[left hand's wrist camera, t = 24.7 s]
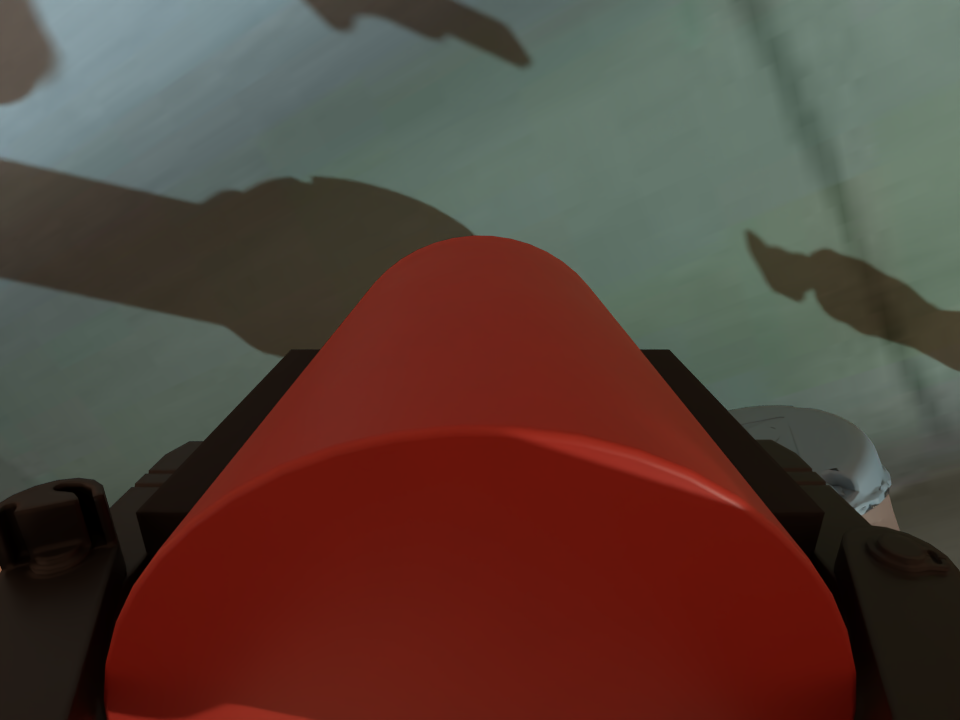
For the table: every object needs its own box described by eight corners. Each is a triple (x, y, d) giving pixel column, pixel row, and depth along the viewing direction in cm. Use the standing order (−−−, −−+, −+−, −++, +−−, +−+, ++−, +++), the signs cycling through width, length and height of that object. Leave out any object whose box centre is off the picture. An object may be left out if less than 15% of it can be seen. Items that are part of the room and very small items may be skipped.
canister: (289, 356, 16) (-57, 727, 6) (497, 171, 14) (544, 222, 4) (466, 526, 18) (449, 1018, 8) (667, 385, 16) (987, 783, 6)
